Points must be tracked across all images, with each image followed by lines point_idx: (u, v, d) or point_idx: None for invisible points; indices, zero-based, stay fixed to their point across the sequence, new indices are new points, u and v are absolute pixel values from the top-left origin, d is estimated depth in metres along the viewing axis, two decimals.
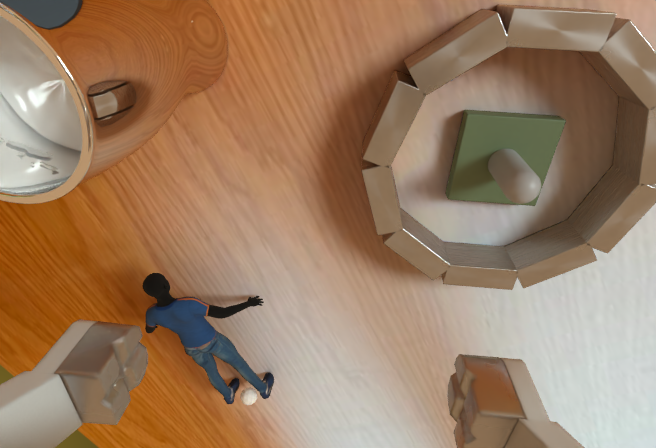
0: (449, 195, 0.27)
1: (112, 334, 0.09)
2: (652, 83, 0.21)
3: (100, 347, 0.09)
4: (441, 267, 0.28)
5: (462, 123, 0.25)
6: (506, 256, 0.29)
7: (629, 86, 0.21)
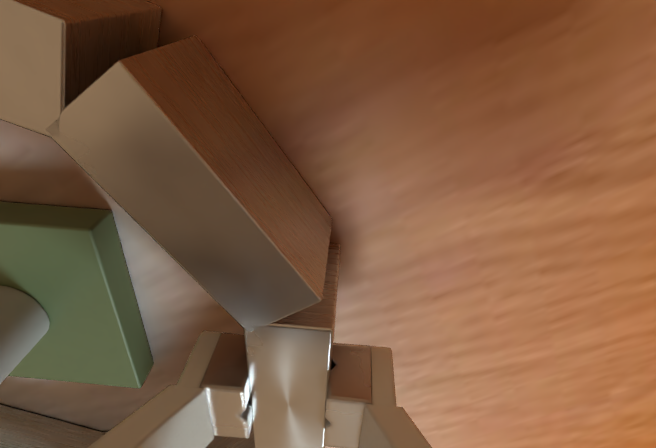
0: None
1: (243, 346, 0.09)
2: None
3: (236, 360, 0.09)
4: None
5: (73, 214, 0.10)
6: None
7: None
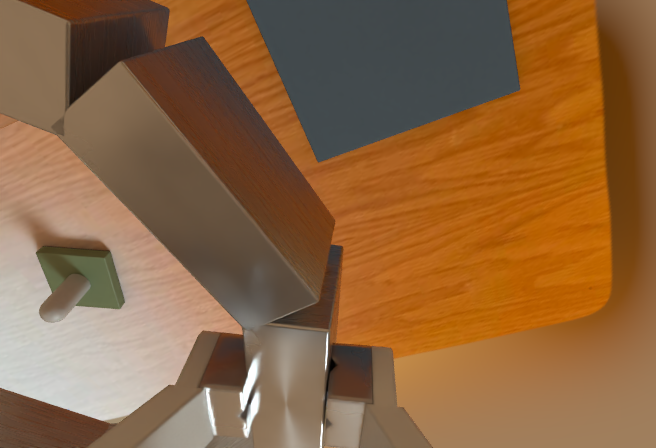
0: (39, 253, 0.34)
1: (243, 345, 0.09)
2: None
3: (235, 359, 0.09)
4: None
5: (99, 252, 0.34)
6: None
7: None
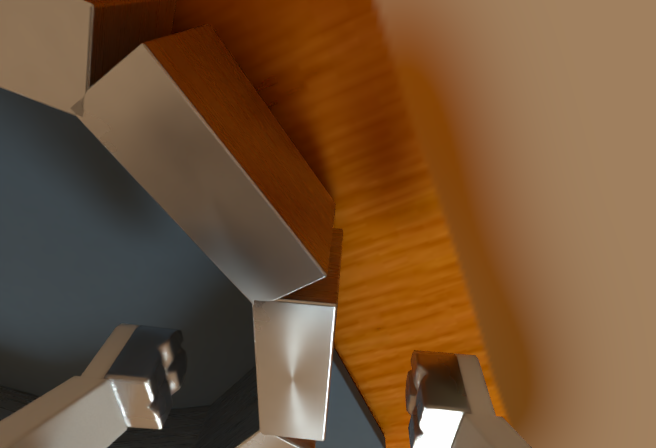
0: None
1: (157, 338, 0.09)
2: None
3: (146, 351, 0.09)
4: None
5: None
6: None
7: None
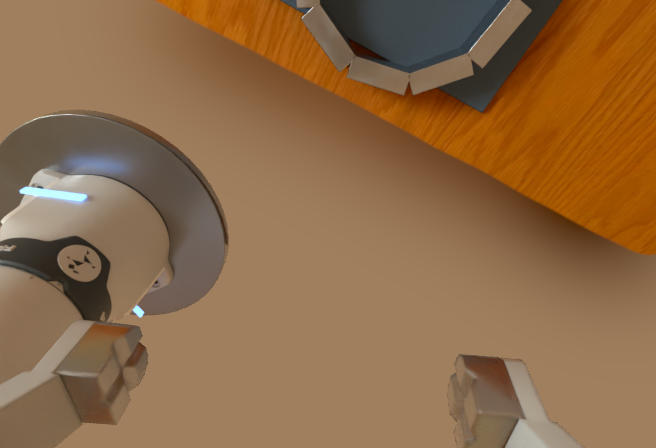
0: None
1: (112, 334, 0.09)
2: None
3: (100, 347, 0.09)
4: None
5: None
6: None
7: None
